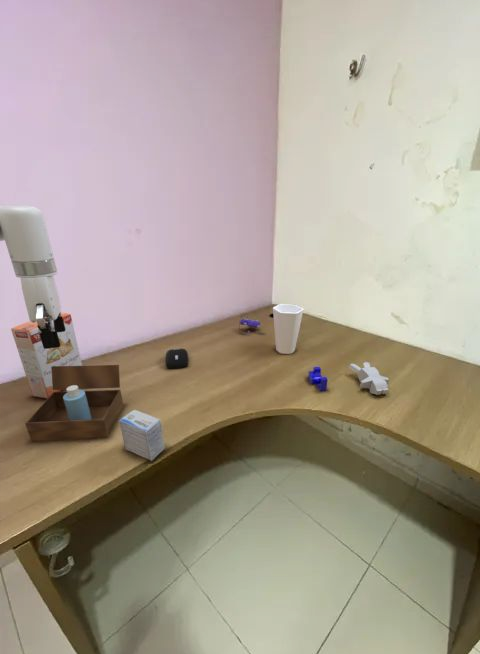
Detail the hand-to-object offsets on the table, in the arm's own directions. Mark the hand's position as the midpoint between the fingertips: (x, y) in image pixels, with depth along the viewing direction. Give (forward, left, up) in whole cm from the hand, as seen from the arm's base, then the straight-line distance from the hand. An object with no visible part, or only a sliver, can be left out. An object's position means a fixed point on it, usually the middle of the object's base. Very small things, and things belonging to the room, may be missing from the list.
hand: (55, 339), depth 75 cm
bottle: (+4, -6, -20) cm, 21 cm away
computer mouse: (+23, +26, -21) cm, 40 cm away
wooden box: (+4, -6, -20) cm, 22 cm away
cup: (+63, +33, -21) cm, 74 cm away
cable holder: (+69, +8, -21) cm, 73 cm away
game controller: (+51, +52, -21) cm, 76 cm away
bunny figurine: (+86, +7, -21) cm, 89 cm away
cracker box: (-9, +12, -21) cm, 25 cm away
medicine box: (+22, -17, -21) cm, 35 cm away
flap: (+4, +1, -12) cm, 12 cm away
